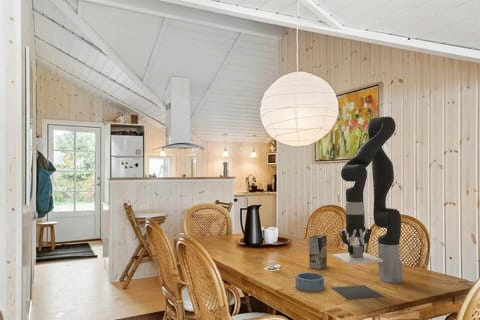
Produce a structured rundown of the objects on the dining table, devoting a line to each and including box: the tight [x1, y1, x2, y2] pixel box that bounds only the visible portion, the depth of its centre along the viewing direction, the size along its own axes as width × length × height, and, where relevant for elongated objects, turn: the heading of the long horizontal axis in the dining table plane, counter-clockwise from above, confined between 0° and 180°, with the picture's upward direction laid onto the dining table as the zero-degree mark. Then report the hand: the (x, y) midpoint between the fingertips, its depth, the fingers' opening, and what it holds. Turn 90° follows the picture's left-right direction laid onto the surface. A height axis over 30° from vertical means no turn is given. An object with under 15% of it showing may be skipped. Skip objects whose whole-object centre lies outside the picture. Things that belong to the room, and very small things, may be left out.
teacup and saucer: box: [263, 260, 281, 272], centre depth 195 cm, size 9×8×4 cm
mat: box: [330, 284, 386, 301], centre depth 155 cm, size 16×16×1 cm
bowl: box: [295, 272, 326, 292], centre depth 163 cm, size 12×12×5 cm
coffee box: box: [308, 234, 328, 270], centre depth 199 cm, size 9×6×16 cm
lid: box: [331, 244, 383, 265], centre depth 156 cm, size 15×15×5 cm
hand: (356, 253), depth 156 cm, fingers closed on lid, 4 cm apart
